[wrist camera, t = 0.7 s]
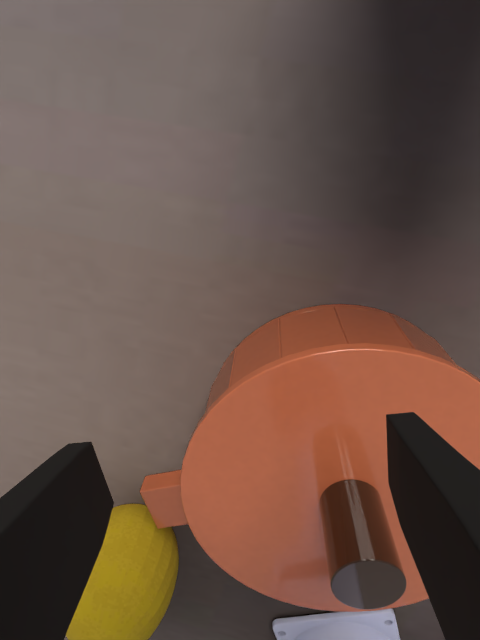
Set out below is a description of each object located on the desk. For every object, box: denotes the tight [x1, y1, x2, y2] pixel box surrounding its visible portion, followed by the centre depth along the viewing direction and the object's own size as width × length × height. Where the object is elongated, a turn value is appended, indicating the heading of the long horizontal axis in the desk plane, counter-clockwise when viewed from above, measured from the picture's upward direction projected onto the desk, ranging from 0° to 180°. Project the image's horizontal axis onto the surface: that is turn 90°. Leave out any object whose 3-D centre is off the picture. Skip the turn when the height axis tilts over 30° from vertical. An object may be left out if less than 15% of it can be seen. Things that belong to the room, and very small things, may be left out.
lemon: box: [66, 503, 179, 640], centre depth 21 cm, size 6×6×8 cm
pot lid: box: [180, 343, 480, 612], centre depth 15 cm, size 14×14×4 cm
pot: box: [140, 304, 456, 529], centre depth 19 cm, size 13×18×5 cm
